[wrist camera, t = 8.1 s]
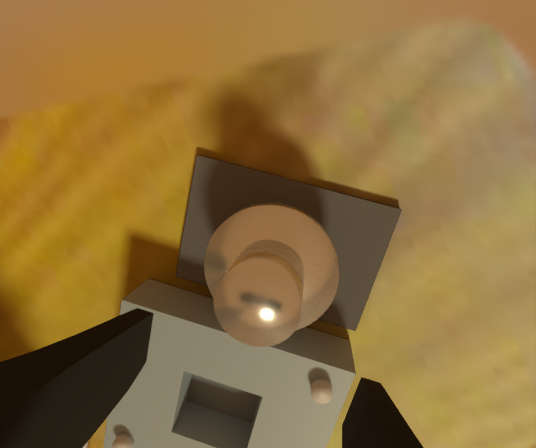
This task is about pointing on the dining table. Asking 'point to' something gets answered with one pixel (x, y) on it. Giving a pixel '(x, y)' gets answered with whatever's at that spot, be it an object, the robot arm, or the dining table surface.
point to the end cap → (270, 272)
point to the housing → (227, 382)
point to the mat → (305, 198)
